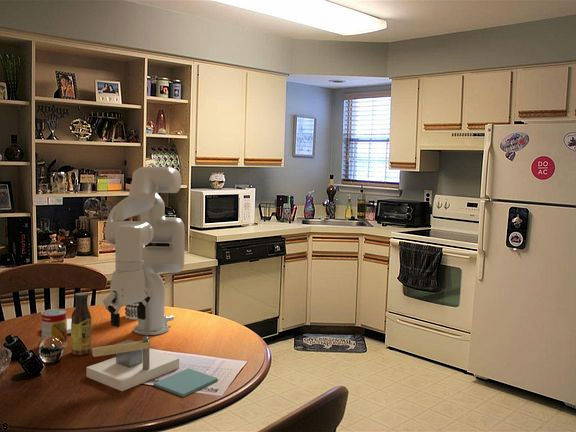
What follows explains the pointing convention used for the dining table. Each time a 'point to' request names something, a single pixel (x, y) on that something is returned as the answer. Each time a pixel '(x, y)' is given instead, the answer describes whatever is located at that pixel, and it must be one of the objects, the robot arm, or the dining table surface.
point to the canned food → (55, 324)
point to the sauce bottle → (81, 326)
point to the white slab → (132, 370)
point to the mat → (185, 382)
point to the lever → (121, 347)
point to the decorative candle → (131, 311)
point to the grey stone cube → (129, 357)
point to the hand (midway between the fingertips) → (128, 322)
